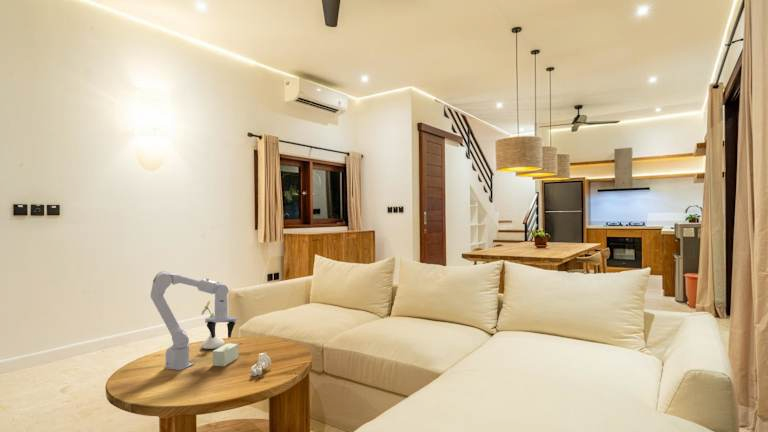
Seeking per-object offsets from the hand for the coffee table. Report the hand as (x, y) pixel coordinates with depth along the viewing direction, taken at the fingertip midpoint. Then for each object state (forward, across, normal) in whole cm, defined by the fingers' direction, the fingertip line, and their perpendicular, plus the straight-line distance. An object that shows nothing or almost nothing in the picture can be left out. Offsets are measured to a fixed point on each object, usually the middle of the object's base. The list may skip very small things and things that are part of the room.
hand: (221, 337), depth 195 cm
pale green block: (+10, +3, -3) cm, 11 cm away
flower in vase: (+11, -11, +17) cm, 23 cm away
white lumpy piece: (+10, +24, -22) cm, 34 cm away
